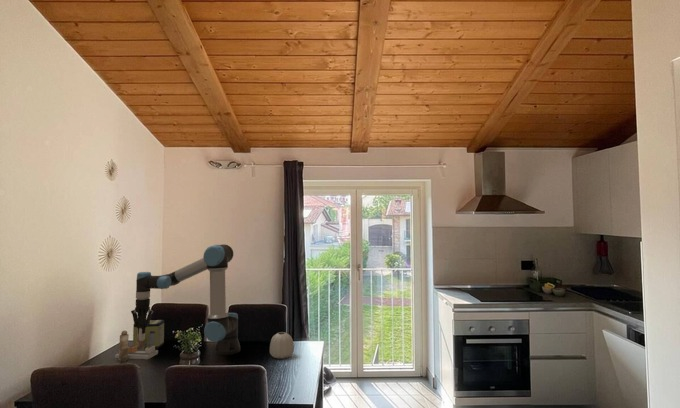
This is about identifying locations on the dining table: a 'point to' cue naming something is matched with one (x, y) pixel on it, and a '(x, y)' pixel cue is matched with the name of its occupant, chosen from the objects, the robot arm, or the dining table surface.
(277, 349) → the vase
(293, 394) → the dining table surface
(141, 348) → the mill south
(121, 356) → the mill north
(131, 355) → the white rectangular tray
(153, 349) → the breaker
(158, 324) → the protein box
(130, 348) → the breaker
